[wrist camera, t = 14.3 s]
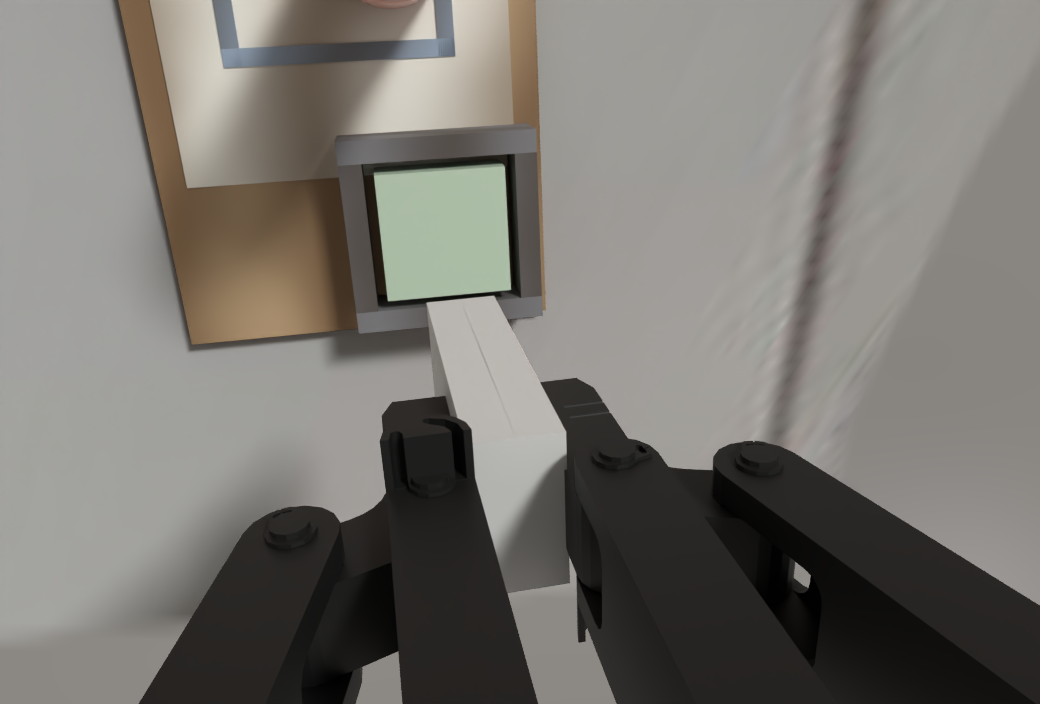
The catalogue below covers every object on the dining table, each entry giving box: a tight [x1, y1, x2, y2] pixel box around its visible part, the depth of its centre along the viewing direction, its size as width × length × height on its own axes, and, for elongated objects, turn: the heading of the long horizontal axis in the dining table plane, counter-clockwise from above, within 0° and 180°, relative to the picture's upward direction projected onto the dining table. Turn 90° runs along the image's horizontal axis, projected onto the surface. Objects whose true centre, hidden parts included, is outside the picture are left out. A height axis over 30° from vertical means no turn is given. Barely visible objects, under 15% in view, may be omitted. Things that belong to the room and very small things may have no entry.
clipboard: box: [118, 0, 546, 345], centre depth 28 cm, size 14×20×3 cm
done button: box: [374, 159, 511, 301], centre depth 30 cm, size 5×5×2 cm
